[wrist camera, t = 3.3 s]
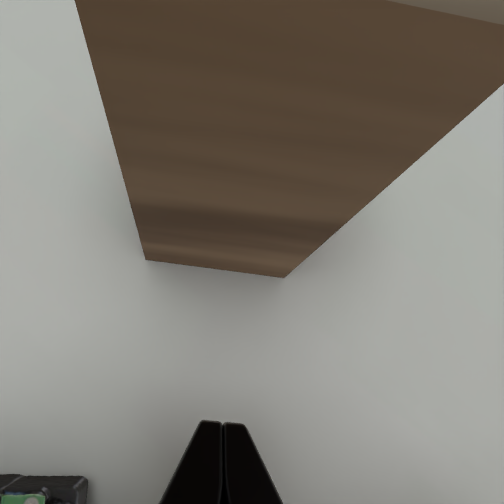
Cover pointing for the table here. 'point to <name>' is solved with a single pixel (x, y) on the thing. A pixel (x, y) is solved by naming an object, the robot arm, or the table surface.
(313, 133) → the walnut block
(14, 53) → the table surface
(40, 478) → the disk drive
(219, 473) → the robot arm
